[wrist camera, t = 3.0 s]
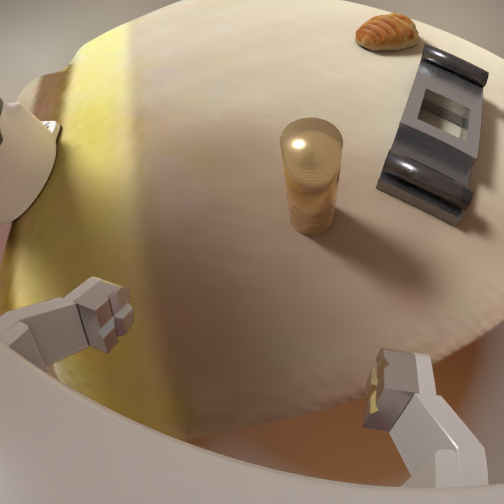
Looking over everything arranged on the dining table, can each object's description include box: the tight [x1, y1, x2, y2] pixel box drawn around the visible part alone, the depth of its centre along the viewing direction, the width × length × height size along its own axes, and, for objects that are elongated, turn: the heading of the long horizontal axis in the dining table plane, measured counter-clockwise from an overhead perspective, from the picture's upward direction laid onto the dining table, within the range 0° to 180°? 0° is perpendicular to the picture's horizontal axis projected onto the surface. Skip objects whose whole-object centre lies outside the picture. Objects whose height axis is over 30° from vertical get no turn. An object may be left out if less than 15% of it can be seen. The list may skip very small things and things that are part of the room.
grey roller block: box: [376, 44, 489, 226], centre depth 25 cm, size 20×8×5 cm, turn 150°
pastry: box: [355, 12, 420, 51], centre depth 32 cm, size 9×7×4 cm
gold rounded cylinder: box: [280, 118, 343, 236], centre depth 22 cm, size 4×4×10 cm
